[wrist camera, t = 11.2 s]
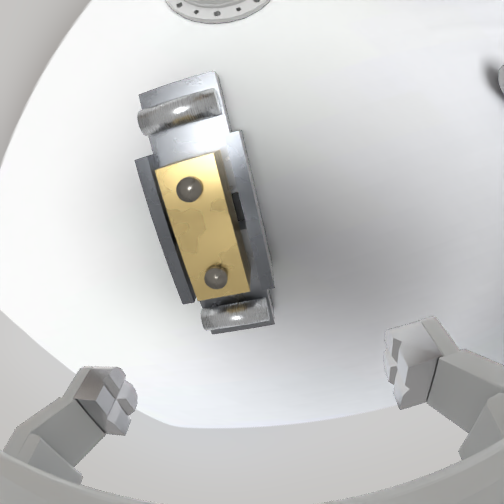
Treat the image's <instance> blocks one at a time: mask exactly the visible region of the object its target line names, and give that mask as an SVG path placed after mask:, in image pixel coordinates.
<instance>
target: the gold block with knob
mask: <svg viewBox="0 0 504 504" xmlns="http://www.w3.org/2000/svg"><path fill="white" fill-rule="evenodd" d="M155 173H156V176H157V180H158V183H159V187H160V190H161V193H162V197H163V200H164V203H165V206H166V209H167V213H168V216H169V219H170V222H171V225H172V228H173V231H174V234H175V237H176V240H177V243H178V246H179V249H180V252H181V255H182V258H183V261H184V264H185V267H186V270H187V272H188V275H189V278H190V281H191V284H192V286H193V289H194V292H195V294H196V297H197V300H198V301H201V300H207V299H212V298H218V297H223V296H229V295H234V294H240V293H245V292H250V278H251V269H250V265H249V261H248V257H247V253H246V249H245V246H244V242H243V238H242V234H241V230H240V226H239V222H238V219H237V215H236V211H235V207H234V203H233V199H232V195H231V191H230V188H229V184H228V180H227V176H226V172H225V168H224V164H223V160H222V156H221V152H220V150H216V151H212V152H208V153H204V154H201V155H197V156H193V157H190V158H186V159H183V160H179V161H176V162H173V163H169V164H167V165H165V166H163V167H160V168H158V169H156V170H155Z"/></svg>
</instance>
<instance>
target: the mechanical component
mask: <svg viewBox="0 0 504 504" xmlns="http://www.w3.org/2000/svg"><path fill="white" fill-rule="evenodd" d="M165 1H166V2H167V4H168V5H169V6H170V7H171V9H172V10H173V11H175V12H177V13H178V14H180V15H181V16H183V17H184V18H187V19H189V20H192V21H196V22H202V23H209V24H211V23H226V22H231V21H235V20H239V19H243V18H246V17H247V16H249V15H251V14H253V13H255V12H257V11H258V10H260V9H261V8H262V7H264V6H265V5H266V4H267V3H268V2H269V1H270V0H165ZM255 2H257V3H255ZM217 15H219V16H217Z"/></svg>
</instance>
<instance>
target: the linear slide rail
mask: <svg viewBox="0 0 504 504" xmlns="http://www.w3.org/2000/svg"><path fill="white" fill-rule="evenodd" d="M139 98H140V103H141V107H142V110H141V111H139V112H138V124H139V127H140V129H141V131H142V133H143V134H144V135H145V136H147V135H149V139H150V143H151V147H152V151H153V155H149V156H146V157H143V158H140V159H137V160H135V163H136V167H137V171H138V174H139V178H140V181H141V184H142V188H143V191H144V194H145V198H146V201H147V204H148V207H149V210H150V214H151V217H152V220H153V223H154V226H155V229H156V232H157V235H158V238H159V241H160V244H161V247H162V249H163V252H164V255H165V258H166V261H167V264H168V266H169V269H170V272H171V275H172V277H173V280H174V283H175V285H176V288H177V290H178V293H179V296H180V298H181V301H182V303H183V304H187V303H194V301H195V298H196V294H195V292H194V289H193V286H192V284H191V281H190V278H189V275H188V272H187V270H186V267H185V264H184V261H183V258H182V255H181V252H180V249H179V246H178V243H177V240H176V237H175V234H174V231H173V228H172V225H171V222H170V219H169V216H168V213H167V209H166V206H165V203H164V200H163V197H162V193H161V190H160V187H159V183H158V180H157V176H156V173H155V170H156V169H158V168H160V167H163V166H165V165H167V164H169V163H173V162H176V161H179V160H183V159H186V158H190V157H193V156H197V155H201V154H204V153H208V152H212V151H216V150H220V152H221V156H222V160H223V164H224V168H225V172H226V176H227V180H228V184H229V188H230V191H231V194H232V193H236V192H238V194H239V198H240V202H241V206H242V210H243V214H244V218H245V220H242V221H238V222H239V226H240V230H241V234H242V238H243V242H244V246H245V249H246V253H247V257H248V261H249V265H250V269H251V278H250V292H245V293H240V294H234V295H229V296H223V297H218V298H212V299H207V300H201V301H200V303H201V306H202V308H203V309H202V310H201V319H202V324H203V327H204V329H205V330H206V331H208V330H211V332H212V334H218V333H224V332H231V331H237V330H244V329H250V328H256V327H261V326H267V325H273V324H275V322H274V311H273V305H272V301H271V297H270V292H269V289H272V288H275V287H274V278H273V269H272V262H271V257H270V253H269V248H268V243H267V239H266V234H265V230H264V225H263V221H262V216H261V212H260V208H259V203H258V199H257V194H256V190H255V185H254V181H253V177H252V172H251V168H250V164H249V159H248V155H247V151H246V147H245V142H244V138H243V134H242V130H241V131H235V132H232V131H231V126H230V122H229V118H228V114H227V110H226V106H225V102H224V98H223V94H222V89H221V85H220V81H219V77H218V75H217V74H216V72H215V71H211V72H207V73H204V74H200V75H196V76H193V77H190V78H186V79H183V80H180V81H176V82H173V83H170V84H167V85H164V86H161V87H158V88H156V89H153V90H150V91H147V92H145V93H142V94H139Z"/></svg>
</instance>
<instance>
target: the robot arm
mask: <svg viewBox="0 0 504 504" xmlns="http://www.w3.org/2000/svg"><path fill="white" fill-rule="evenodd" d="M385 343H386V345H387V349H386V350H385V351H384V368H385V372H386V376H387V378H388V381H389V382H390V383H392V384H393V385H394V391H393V394H394V396H395V399H396V402H397V404H398V407H399V409H400V410H402V409H405V408H408V407H412V406H415V405H418V404H422V403H424V402H427V404H429V405H430V406H431V407H433V408H434V409H435V410H437V411H438V412H440V413H441V414H442V415H444V416H445V417H446V418H448V419H449V420H451V421H452V422H453V423H455V424H456V425H458V426H459V427H460V428H462V429H463V430H465V431H466V432H468V433H469V434H468V436H467V438H466V439H465V441H464V443H463V444H462V446H461V447H460V449H459V451H458V452H459V454H460V457H461V459H462V460H461V461H460V462H457V463H455V464H453V465H450V466H448V467H446V468H444V469H441V470H439V471H436V472H434V473H431V474H429V475H426V476H423V477H421V478H418V479H415V480H412V481H409V482H406V483H403V484H400V485H397V486H394V487H391V488H387V489H384V490H380V491H377V492H372V493H368V494H364V495H360V496H356V497H351V498H346V499H342V500H336V501H330V502H324V503H318V504H504V365H501V364H499V363H497V362H494V361H492V360H490V359H487V358H485V357H483V356H480V355H478V354H475V353H473V352H471V351H468V350H466V349H462V350H459V348H458V347H457V345H456V344H455V343H454V341H453V340H452V338H451V337H450V336H449V334H448V333H447V331H446V330H445V329H444V327H443V326H442V325H441V323H440V322H439V321H438V319H437V318H436V317H434V316H431V317H428V318H424V319H421V320H418V321H416V322H412V323H409V324H405V325H402V326H398V327H395V328H391V329H387V330H386V332H385ZM125 377H126V375H125V373H124V372H123V371H122V369H121V368H118V367H99V366H94V367H90V366H84V367H82V368H80V370H79V371H78V373H77V374H76V376H75V377H74V379H73V381H72V382H71V384H70V386H69V387H68V389H67V391H66V392H65V394H64V395H63V397H62V398H60V397H59V398H58V399H56V400H55V401H53V402H52V403H50V404H49V405H48V406H46V407H45V408H43V409H42V410H40V411H39V412H38V413H36V414H35V415H33V416H32V417H30V418H29V419H27V420H26V421H25V422H23V423H22V424H20V425H19V426H17V427H16V429H15V431H14V432H13V434H12V436H11V437H10V439H9V441H8V443H7V445H6V446H5V448H4V450H3V452H2V451H0V504H163V503H155V502H149V501H144V500H139V499H134V498H129V497H124V496H120V495H116V494H112V493H108V492H104V491H101V490H97V489H93V488H90V487H87V486H84V485H81V481H82V479H83V476H82V474H81V473H80V472H79V471H77V470H76V469H75V468H74V467H75V466H76V465H77V464H78V463H79V462H80V461H81V460H82V459H83V458H84V456H86V454H88V453H89V452H90V451H91V450H92V449H93V447H95V445H96V444H97V443H98V442H99V441H100V440H101V439H102V438H103V437H104V436H105V435H106V434H112V435H123V436H125V435H126V432H127V430H128V427H129V424H130V422H131V419H130V416H129V415H130V414H131V413H133V412H134V411H135V409H136V406H137V393H136V390H135V389H134V387H133V385H132V384H130V383H129V382H127V381H126V380H125Z"/></svg>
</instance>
